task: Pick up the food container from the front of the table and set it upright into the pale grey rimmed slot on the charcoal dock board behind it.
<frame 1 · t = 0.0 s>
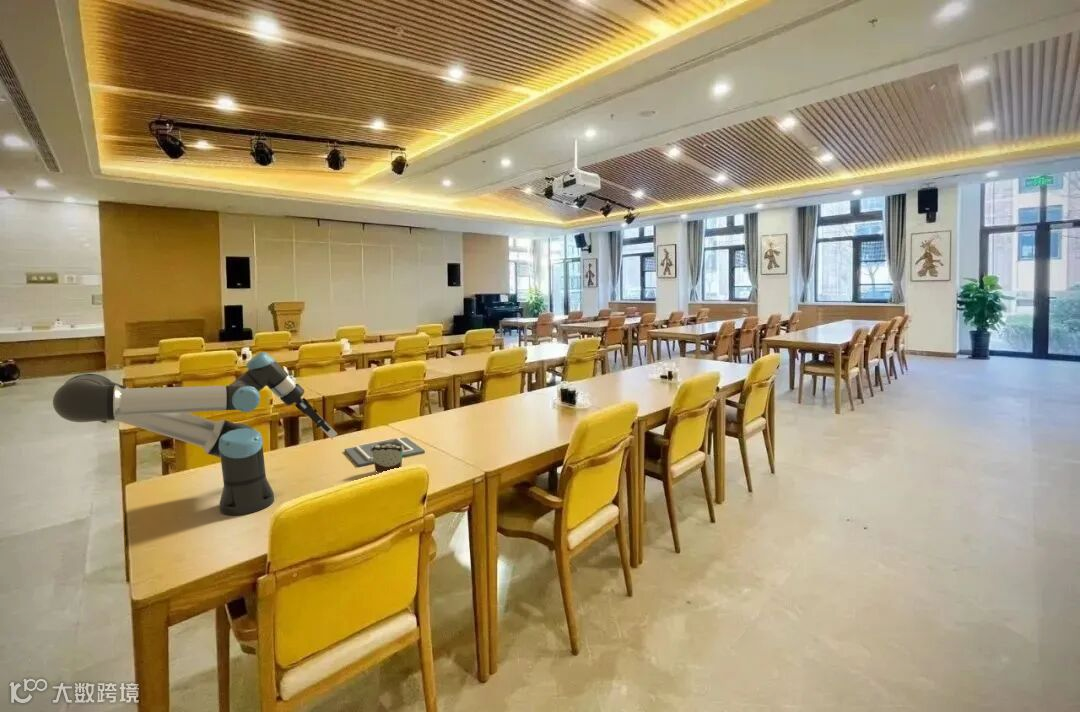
hand: (330, 431, 191), 15 cm above the table, tool tilted 35°, fingers open, 13 cm apart
dock board: (384, 452, 214), on the table
food container: (391, 470, 194), on the table
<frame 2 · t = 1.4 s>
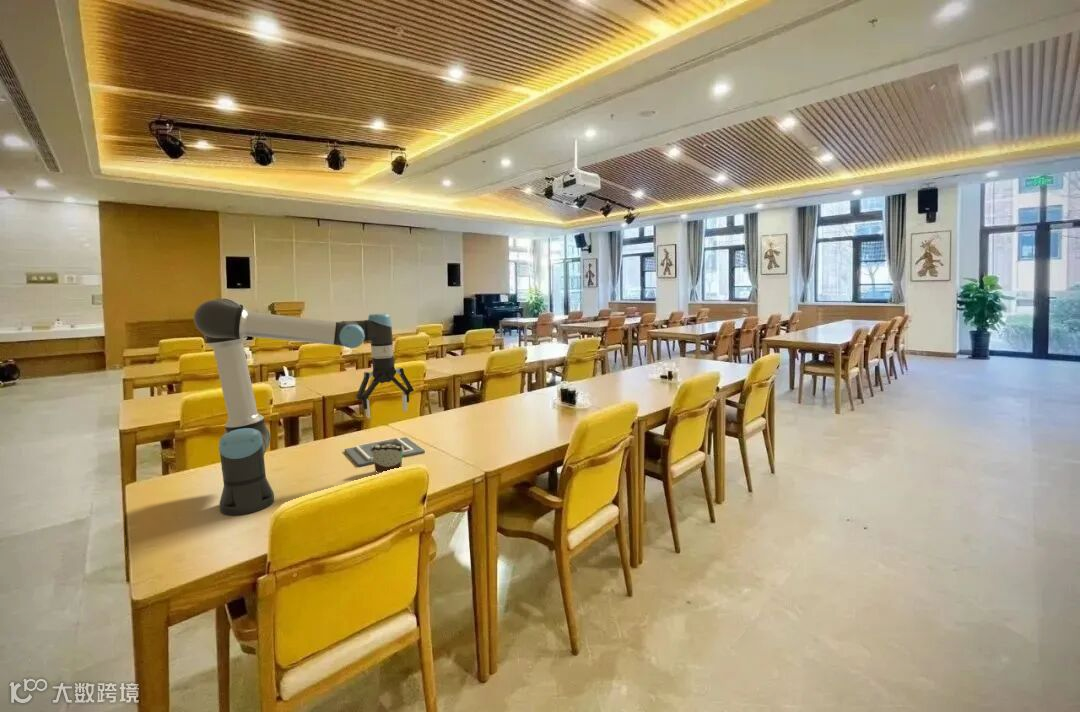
hand: (387, 414, 191), 21 cm above the table, tool pointing down, fingers open, 13 cm apart
nothing on the table moved.
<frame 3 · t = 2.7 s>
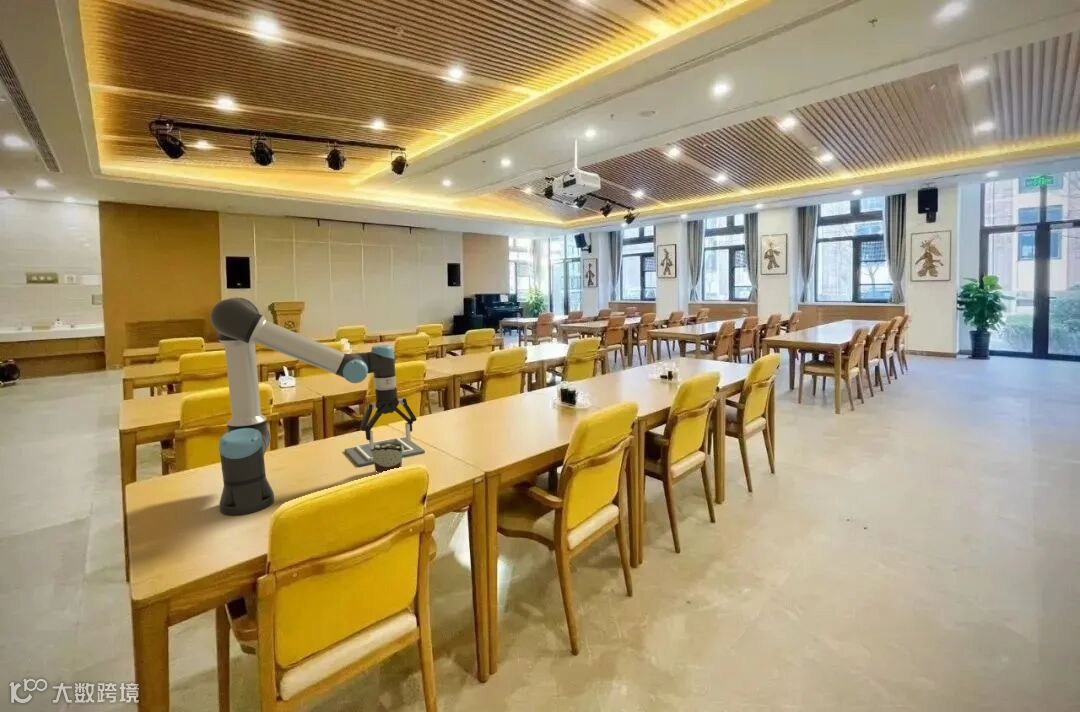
hand: (390, 444, 193), 10 cm above the table, tool pointing down, fingers open, 13 cm apart
food container: (391, 470, 194), on the table, touching gripper
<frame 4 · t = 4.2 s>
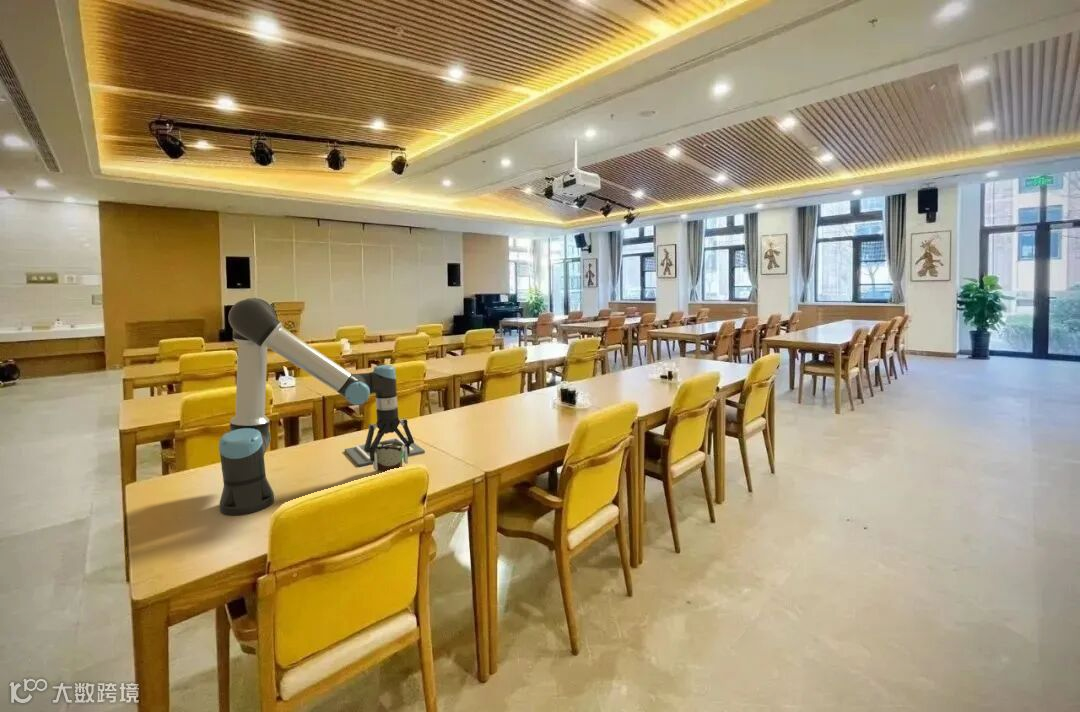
hand: (390, 466, 194), 1 cm above the table, tool pointing down, fingers open, 10 cm apart
food container: (392, 469, 194), on the table
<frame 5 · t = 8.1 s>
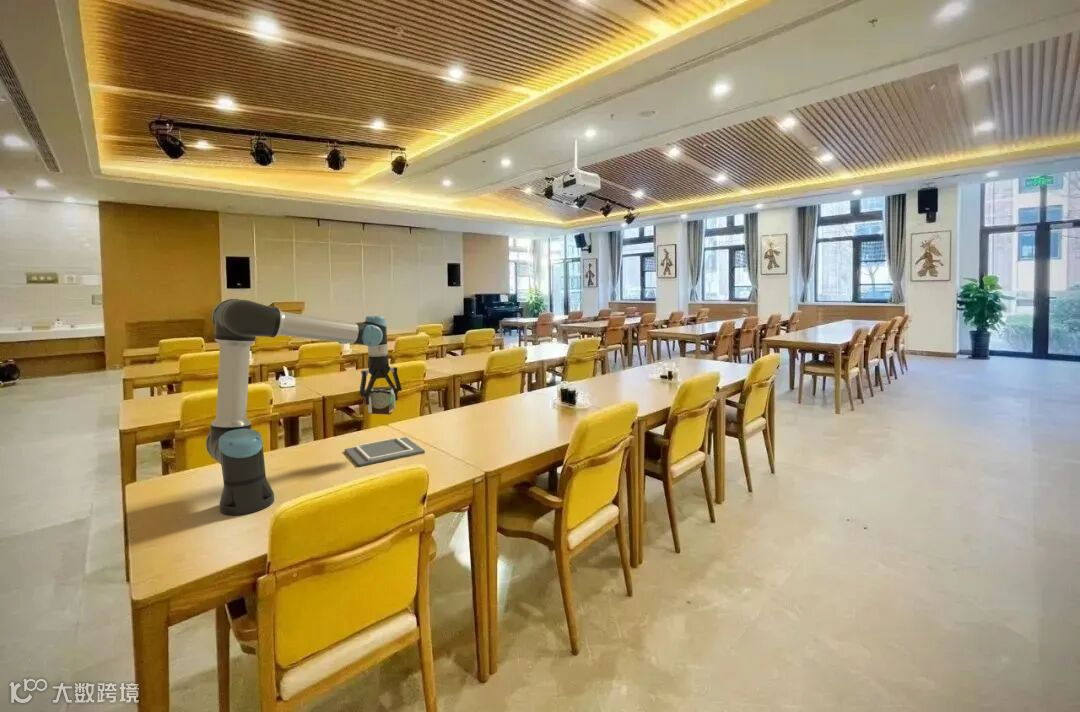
hand: (382, 410, 210), 18 cm above the table, tool pointing down, fingers closed on food container, 9 cm apart
food container: (383, 413, 211), point 17 cm above the table, touching gripper
when the fingers open (2 cm above the table, at t = 11.5 s): food container stays where it is, resting on dock board.
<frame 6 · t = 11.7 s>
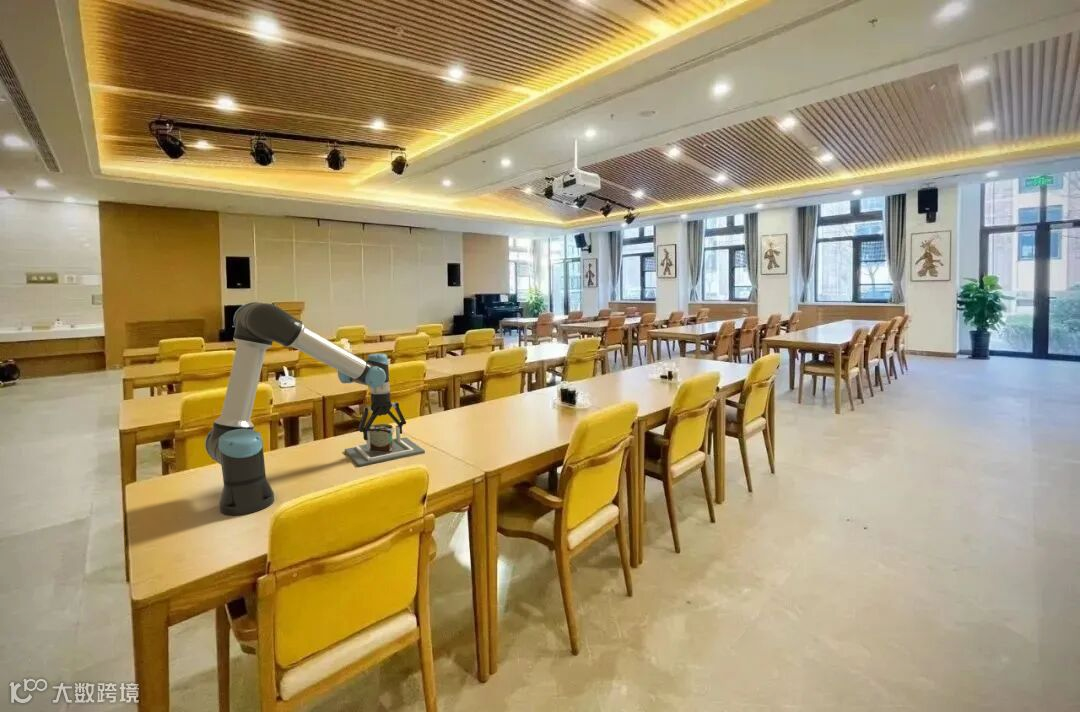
hand: (383, 444, 213), 3 cm above the table, tool pointing down, fingers open, 11 cm apart
food container: (384, 450, 214), point 1 cm above the table, touching dock board
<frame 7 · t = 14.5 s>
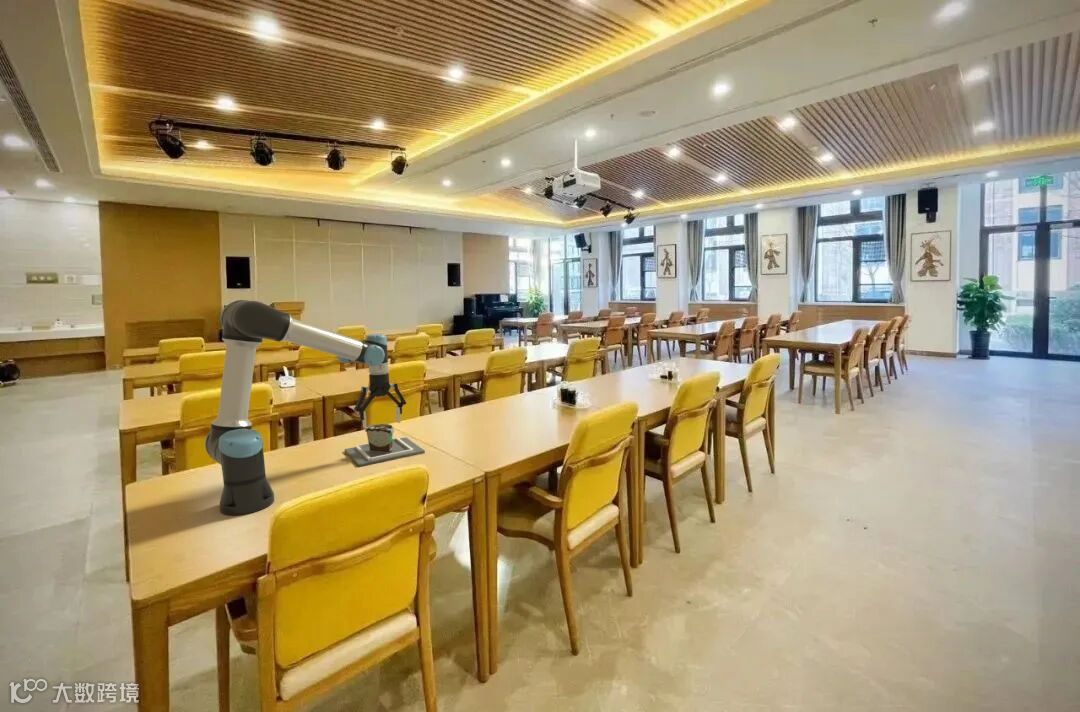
hand: (381, 424, 212), 12 cm above the table, tool pointing down, fingers open, 13 cm apart
nothing on the table moved.
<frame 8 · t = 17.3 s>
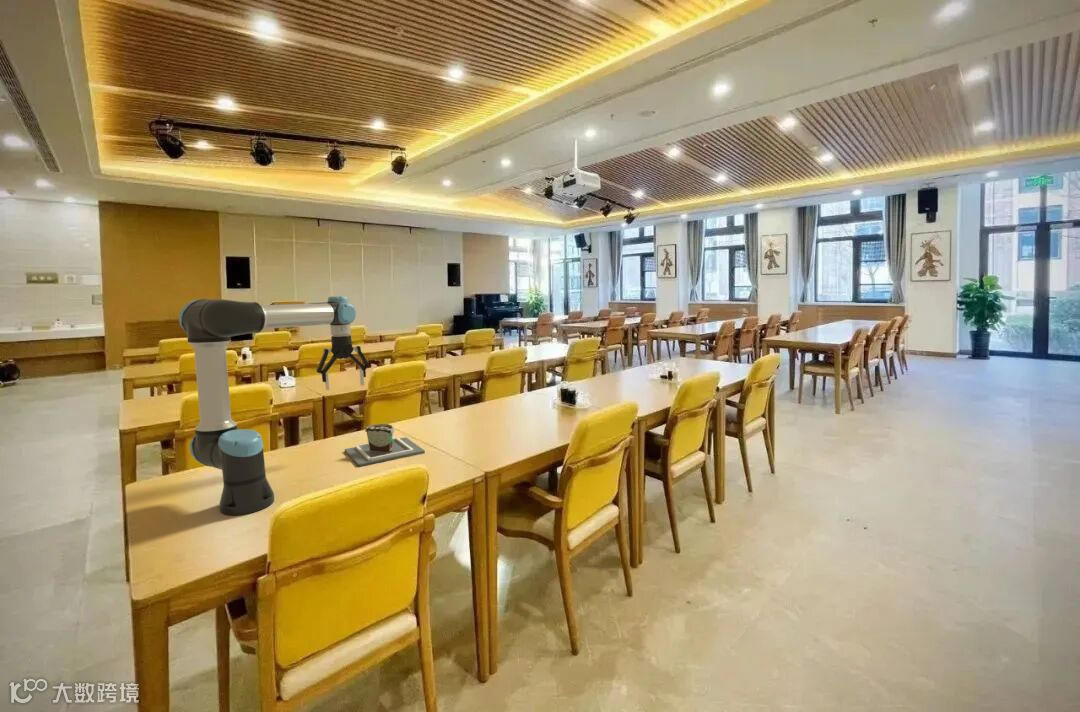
hand: (345, 387, 212), 27 cm above the table, tool pointing down, fingers open, 13 cm apart
nothing on the table moved.
at the end: food container inside the target area on the dock board (0.2 cm from its centre), point 0.8 cm above the dock board's base; food container tilted 0°; the gripper is holding nothing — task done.
